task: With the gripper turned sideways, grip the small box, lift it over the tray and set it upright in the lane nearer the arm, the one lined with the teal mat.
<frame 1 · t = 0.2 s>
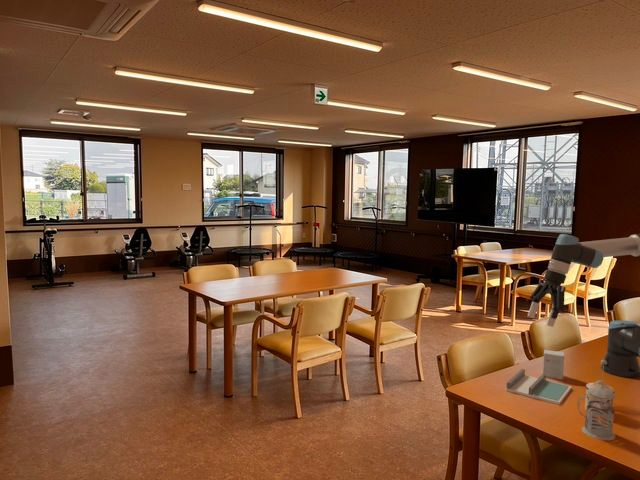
hand: (539, 321, 197), 27 cm above the table, tool tilted 15°, fingers open, 13 cm apart
tray: (537, 389, 196), on the table
french press: (595, 433, 161), on the table
small box: (552, 376, 211), on the table
teacup with lid: (599, 410, 178), on the table
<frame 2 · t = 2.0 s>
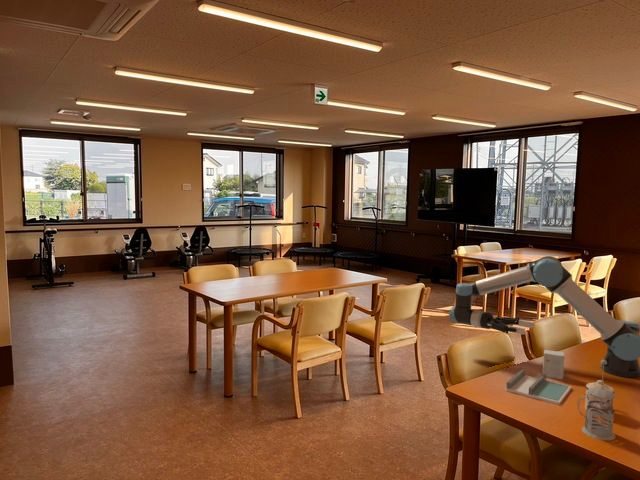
hand: (529, 328, 216), 19 cm above the table, tool horizontal, fingers open, 13 cm apart
nothing on the table moved.
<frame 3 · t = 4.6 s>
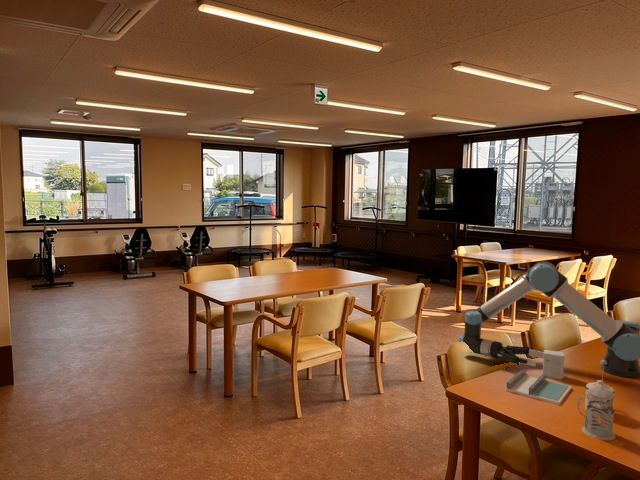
hand: (540, 359, 213), 6 cm above the table, tool horizontal, fingers open, 13 cm apart
nothing on the table moved.
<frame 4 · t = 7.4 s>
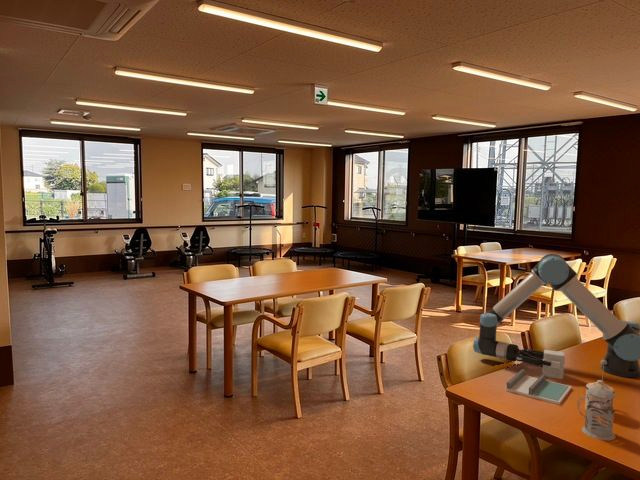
hand: (562, 363, 208), 7 cm above the table, tool horizontal, fingers closed on small box, 7 cm apart
small box: (552, 376, 211), on the table, touching gripper
everything else where it was.
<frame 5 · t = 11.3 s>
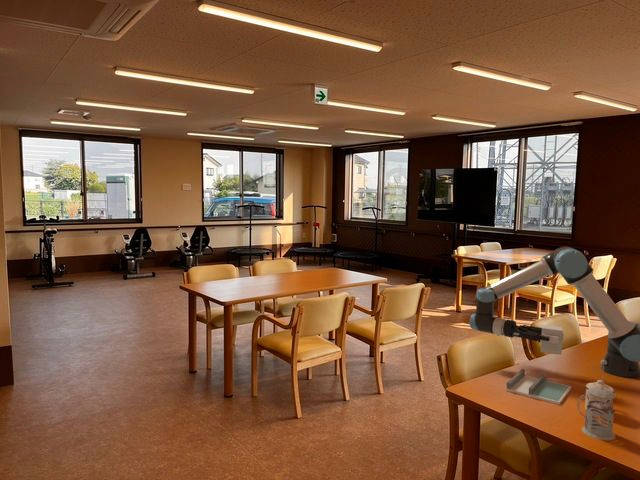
hand: (560, 338, 201), 19 cm above the table, tool horizontal, fingers closed on small box, 7 cm apart
small box: (550, 352, 204), point 12 cm above the table, touching gripper
everything else where it was.
when the fingers open (9 cm above the table, at t = 15.2 s): small box drops 1 cm, resting on tray.
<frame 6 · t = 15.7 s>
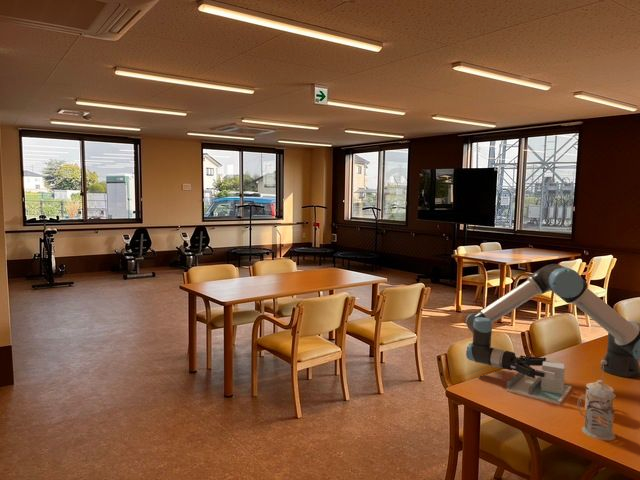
hand: (558, 371, 190), 9 cm above the table, tool horizontal, fingers open, 13 cm apart
small box: (551, 390, 192), point 1 cm above the table, touching tray
everything else where it was.
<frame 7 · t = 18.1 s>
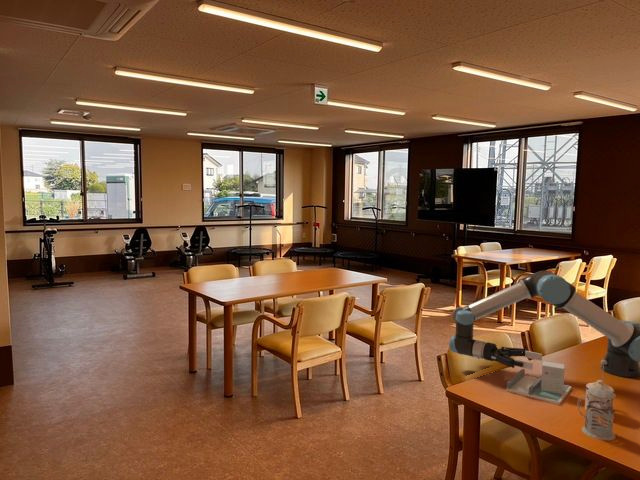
hand: (537, 361, 197), 11 cm above the table, tool horizontal, fingers open, 13 cm apart
nothing on the table moved.
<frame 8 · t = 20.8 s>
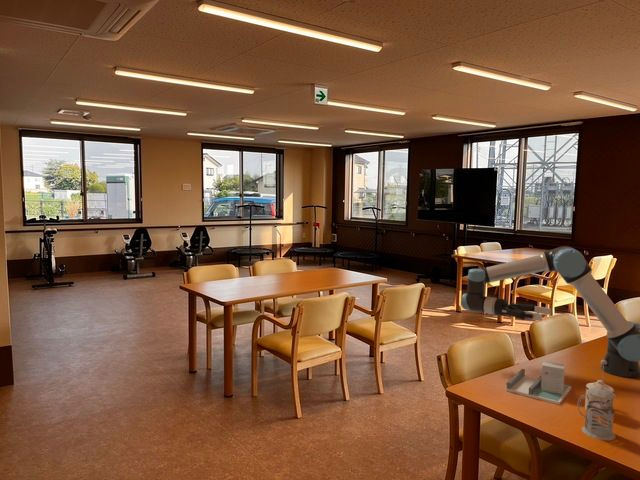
hand: (546, 314, 205), 28 cm above the table, tool horizontal, fingers open, 13 cm apart
nothing on the table moved.
at the end: small box inside the target area on the tray (0.3 cm from its centre), point 1.0 cm above the tray's base; small box tilted 0°; the gripper is holding nothing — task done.
